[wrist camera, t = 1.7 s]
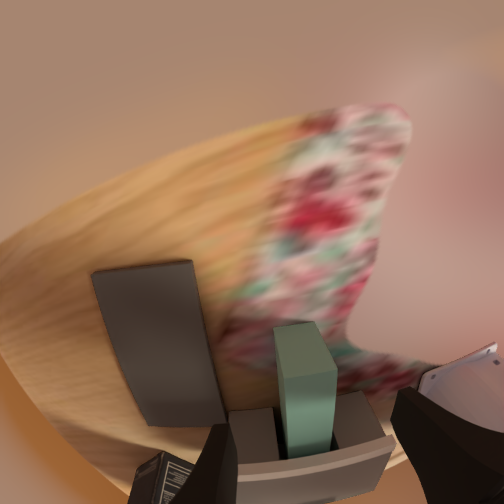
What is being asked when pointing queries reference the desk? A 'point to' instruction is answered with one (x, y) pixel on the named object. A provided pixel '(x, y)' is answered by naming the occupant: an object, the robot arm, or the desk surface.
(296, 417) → the green block
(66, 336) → the desk surface
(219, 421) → the mat
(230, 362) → the desk surface
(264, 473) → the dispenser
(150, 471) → the small box
